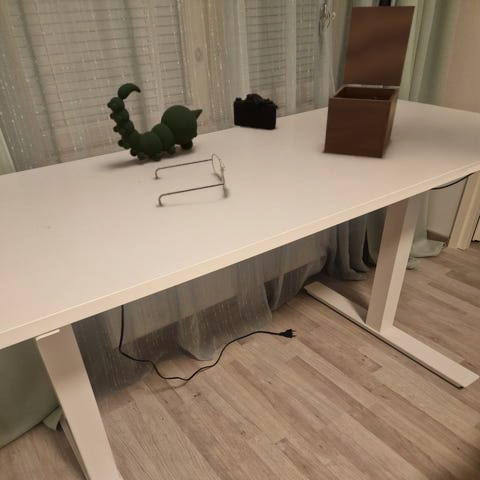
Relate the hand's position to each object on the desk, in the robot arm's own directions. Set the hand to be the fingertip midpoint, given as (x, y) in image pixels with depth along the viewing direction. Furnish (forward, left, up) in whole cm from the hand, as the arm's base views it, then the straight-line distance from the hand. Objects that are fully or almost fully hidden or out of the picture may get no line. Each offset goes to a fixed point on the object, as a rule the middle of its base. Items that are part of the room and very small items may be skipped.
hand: (380, 32), depth 107 cm
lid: (-4, +1, -3) cm, 5 cm away
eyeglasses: (-39, +45, -25) cm, 65 cm away
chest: (-11, +4, -24) cm, 27 cm away
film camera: (+13, +31, -25) cm, 42 cm away
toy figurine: (-16, +55, -25) cm, 62 cm away
